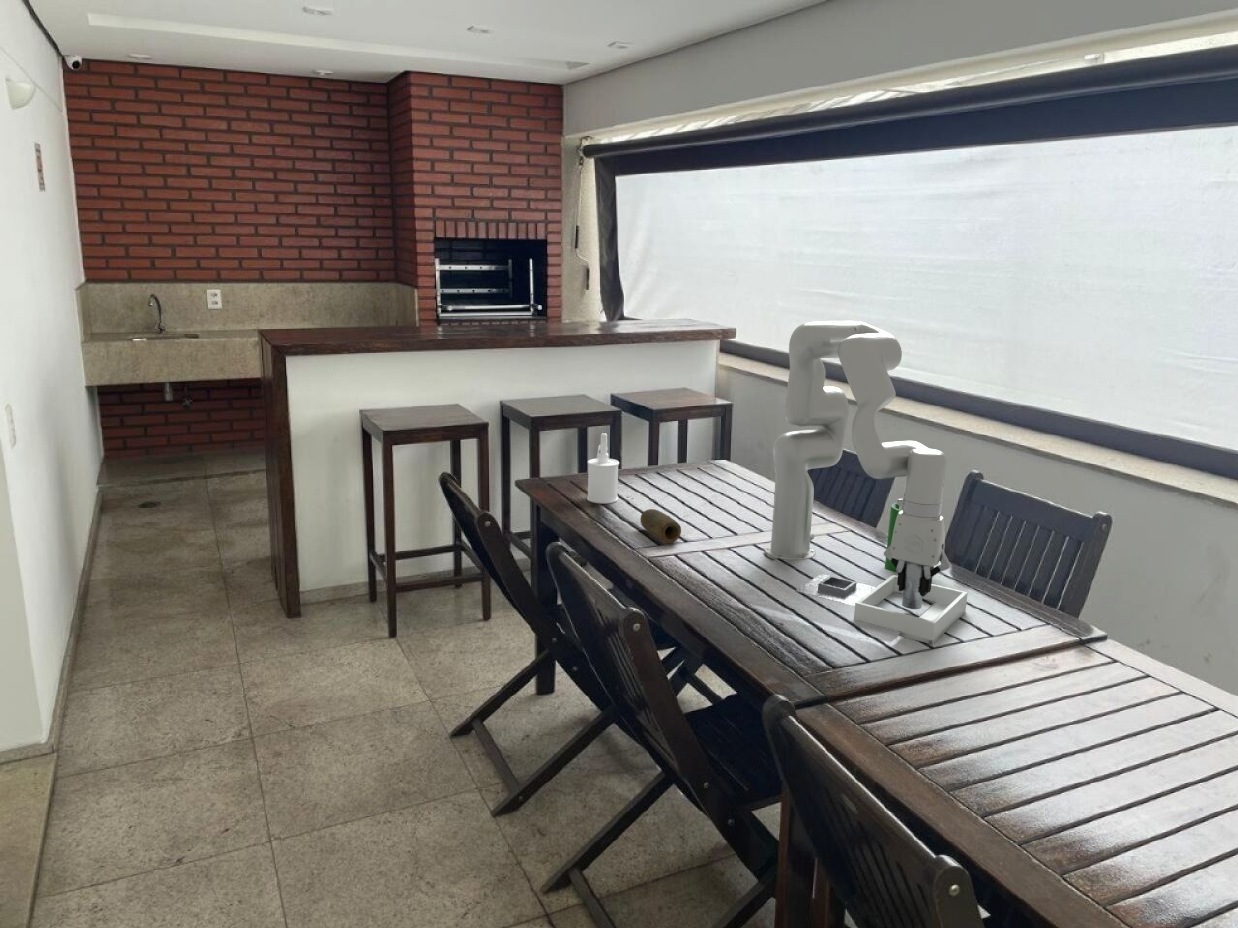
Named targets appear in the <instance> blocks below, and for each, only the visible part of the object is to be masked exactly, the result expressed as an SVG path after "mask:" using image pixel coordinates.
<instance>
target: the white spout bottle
mask: <svg viewBox="0 0 1238 928" xmlns="http://www.w3.org/2000/svg"><path fill="white" fill-rule="evenodd" d="M608 450H609V448H608V434H607V433H605V432H604V433H603V432H602V433H601V434H600V442H599V444H598V448H597V453H596V458H592V459H589V460H587V465H588V470H587V471H588V473H587V474H588V475H587V477H588V479H587V480H588V481H587V482H588V483H587V497H586V499H587V501H588V502H591V503H594V504H612V503H613V504H614V503H616V502H617V501H618V500H619V497H618V485H619V483H618V482H619V481H618V480H619V475H618V474H619V465H620V462H619V460H617V459H613V458H609V453H608Z"/></svg>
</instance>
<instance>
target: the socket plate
mask: <svg viewBox="0 0 1238 928" xmlns="http://www.w3.org/2000/svg"><path fill="white" fill-rule="evenodd" d="M876 587H877V586H873V585H870V584H865V583H862V582H861V583H860V582H857V581H854V580H849V579H845V578H843V577H841V578H840V577H837V576H833V575H829V574H823V573H820V574H818V575H817V576H815V577H814V578H812V579H811V580H809V581H807V582H806V583H805V584H803V585H801V586H799V587H798V588H797V589H795V590H794V591H795V592H798V593H801V594H806V595H809V596H813V597H818V598H821V599H826V600H828V601H833V602H838V603H840V604H841V603H842V604H845V605H848V606H853V607H855V603H856V602H857V601H858V600H860V599H861V598H862V597H864V596H865V595H867V594H868V593H869V592H871V591H872V590H873V589H875V588H876Z"/></svg>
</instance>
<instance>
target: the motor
mask: <svg viewBox="0 0 1238 928" xmlns="http://www.w3.org/2000/svg"><path fill="white" fill-rule="evenodd" d="M889 511H890V513H889V521H888V522H889V523H888V532H887V533H888V534H887V542H886V549H887V548H888V547H889V546H890V545H891V541H892V536H893V531H894V526H895V522H896V518H897V515H898V512H900V511H902V508H901V509H900V505H897V502H894V503H892V504H890V510H889ZM884 561H885V563H884V569H885V570H887V571H891V572H896V573H898V572H897V571H896V568H895V566H894V565H893V564H892V562H891V560H889V559H888V558H887V557H886V556H885V560H884Z"/></svg>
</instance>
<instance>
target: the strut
mask: <svg viewBox="0 0 1238 928" xmlns="http://www.w3.org/2000/svg"><path fill="white" fill-rule="evenodd" d="M924 575H925V573H924V565H919V564H915V563H910V562H906V570H905V580H904V590H903V594H902V599H901V600H902V602H901V605H902V607H904V608H906V609H909V610H920V609H922V607H923V596H921V595H920V592H921V582H922V578H923V577H924Z"/></svg>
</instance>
